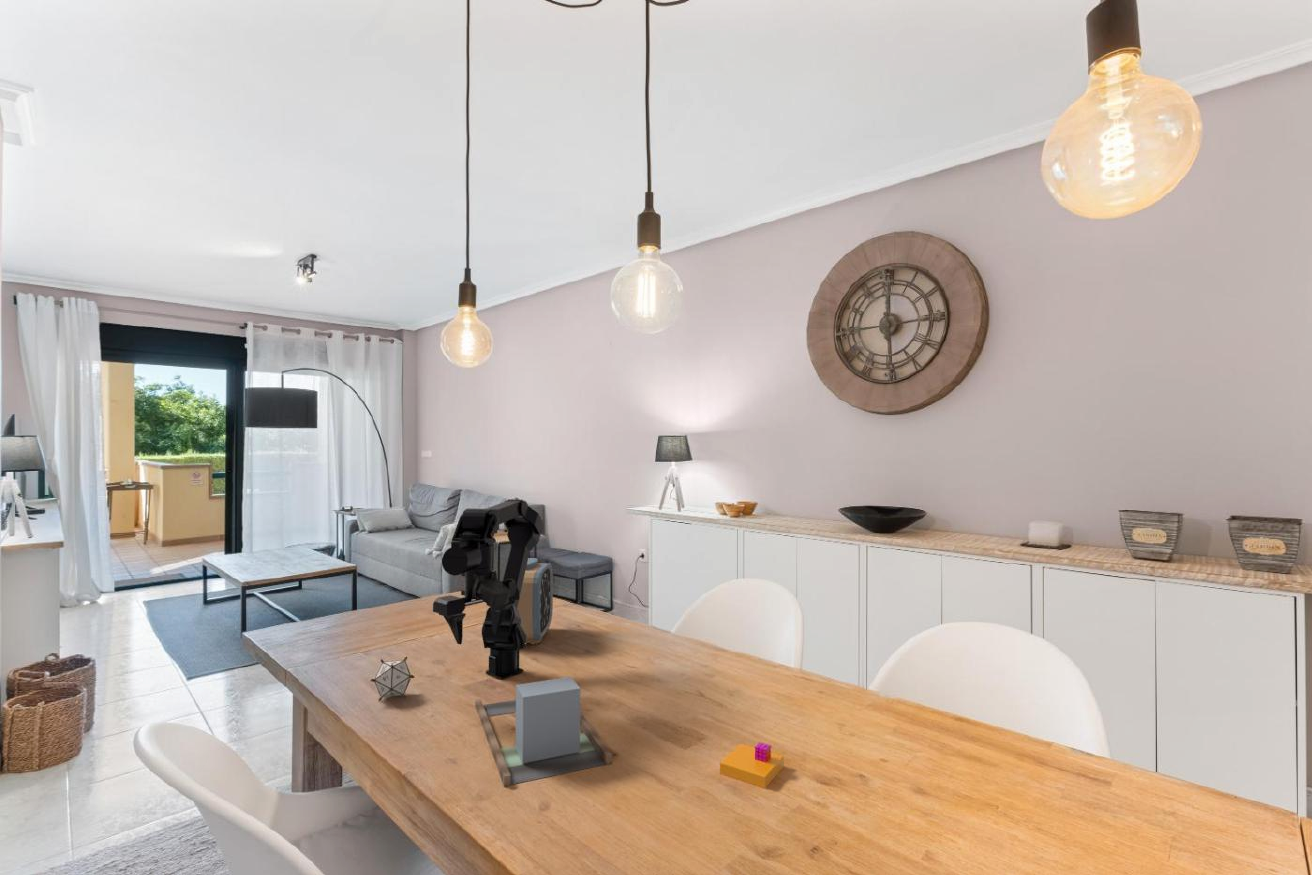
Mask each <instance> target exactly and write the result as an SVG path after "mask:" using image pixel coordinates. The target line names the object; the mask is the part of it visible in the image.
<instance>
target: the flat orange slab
mask: <svg viewBox="0 0 1312 875" xmlns="http://www.w3.org/2000/svg"><path fill="white" fill-rule="evenodd" d="M784 767H785V757H784V755H781V754H779V753H778V754H777V753H775V752H772V745H771V744H767V743H764V742H761V741H759V743H757V744H756V745H755V747H754V746H751V745H747V744H743V743H740V744H739V745H738V746H736V747H735V748H734V749H733V750H732V751H731V752H730V753H729V754H728V755H727V756H725V757H724V758H723V759H722V760H721V761H720V762H719V774H720V775H723V776H726V777H729V778H732V779H736V780H738V781H741V782H744V783H747V784H750V785H754V786H757V787H759V788H763V789H767V787H768V786H769V784H771V782H772V781H773V779H775V778H776V777H777V775H778V774H779V773H780V772H781V771H782V770H783V769H784Z"/></svg>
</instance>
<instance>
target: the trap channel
mask: <svg viewBox="0 0 1312 875" xmlns="http://www.w3.org/2000/svg"><path fill="white" fill-rule="evenodd" d="M474 701H475V702H474V703H475V705H474V706H475V710H476V713H477V715H478V718H479V721H480V724H481V726H482V729H483V733H484V735H485V737H486V740H487V743H488V746H489V748H490V750H491V754H492V756H493V759H494V763H495V765H496V767H497V771H498V773H499V776H500V779H501V782H502V785H503V787H507V786H512V785H515V784H516V785H517V784H520V783H527V782H530V781H535V780H541V779H545V778H549V777H554V776H559V775H564V774H567V773H572V772H578V771H581V770H585V769H586V770H587V769H590V768H596V767H600V766H606V765H610V764H612V763H613V754H612V752H611V751H610V749H609V748H608V746H606V744H605V742H604V741H603V740H602V739H601V738H600V736H599V735H598V734H597V733H596V731H595V730H594V728H593V727H592V725H591V724H590V723H589V721H588V720H587V719H586V718H585V716H584V715H583V714H582V712H581V711H580V730H581V731H582V732H583V733H582V732H580V752H577V753H572V754H567V755H562V756H557V757H552V758H547V759H542V760H537V761H532V762H528V763H522V761H521V759H520V757H519V754H518V752H517V750H516V745H515V746H508V747H503V748H501V747H500V744H499V742H498V740H497V737H496V734H495V732H494V729H493V727H492V724H491V722H490V719H489V718H488V717H492V716H493V717H494V716H499V715H505V714H510V713H516V699H513V700H506V701H499V702H495V703H494V702H493V703H488V704H487V703H486V704H483V702H482V699H481V698H479V697H478V698H475V700H474Z"/></svg>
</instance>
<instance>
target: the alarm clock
mask: <svg viewBox="0 0 1312 875" xmlns="http://www.w3.org/2000/svg"><path fill="white" fill-rule="evenodd" d="M553 571H554V570H553V565H552V564H551V563H549V562H548V563H547V562H545V563H544V562H543V563H541V562H540V563H539V559H538V558H536V557H528V562H527V566H526V570H525V575H524V579H523V584H522V588H521V593H520V599H519V602H518V606H517V609H518V612H519V615H520V618H521V625H520V626H521V627H522V629H523V631H524V633H525V634H526V642H525V643H539V642H540V643H541V641H542V640H543V638H544V637H545V635H546V634H547V632H548V631H549V628H550V627H551V624H552V619H553V607H554V606H553V605H554V604H553V602H554V601H553V600H554V598H553V597H554V596H553V595H554V594H553V593H554V574H553ZM545 633H546V634H545ZM543 636H544V637H543ZM540 643H539V644H540Z"/></svg>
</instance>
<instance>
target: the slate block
mask: <svg viewBox="0 0 1312 875" xmlns="http://www.w3.org/2000/svg"><path fill="white" fill-rule="evenodd" d="M515 700H516V712H515V746H516V750H517V752H518V754H519V757H520V759H521V761H522V763H528V762H532V761H537V760H542V759H547V758H552V757H557V756H562V755H567V754H572V753H577V752H580V734H581V728H580V712H581V687H580V686H579V685H578V683H577V682H576V681H575V680H574V679H573V678H572V677H571V676H567V677H561V678H553V679H547V680H539V681H533V682H527V683H526V682H525V683H521V684H520V683H519V684H516V685H515Z"/></svg>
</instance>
